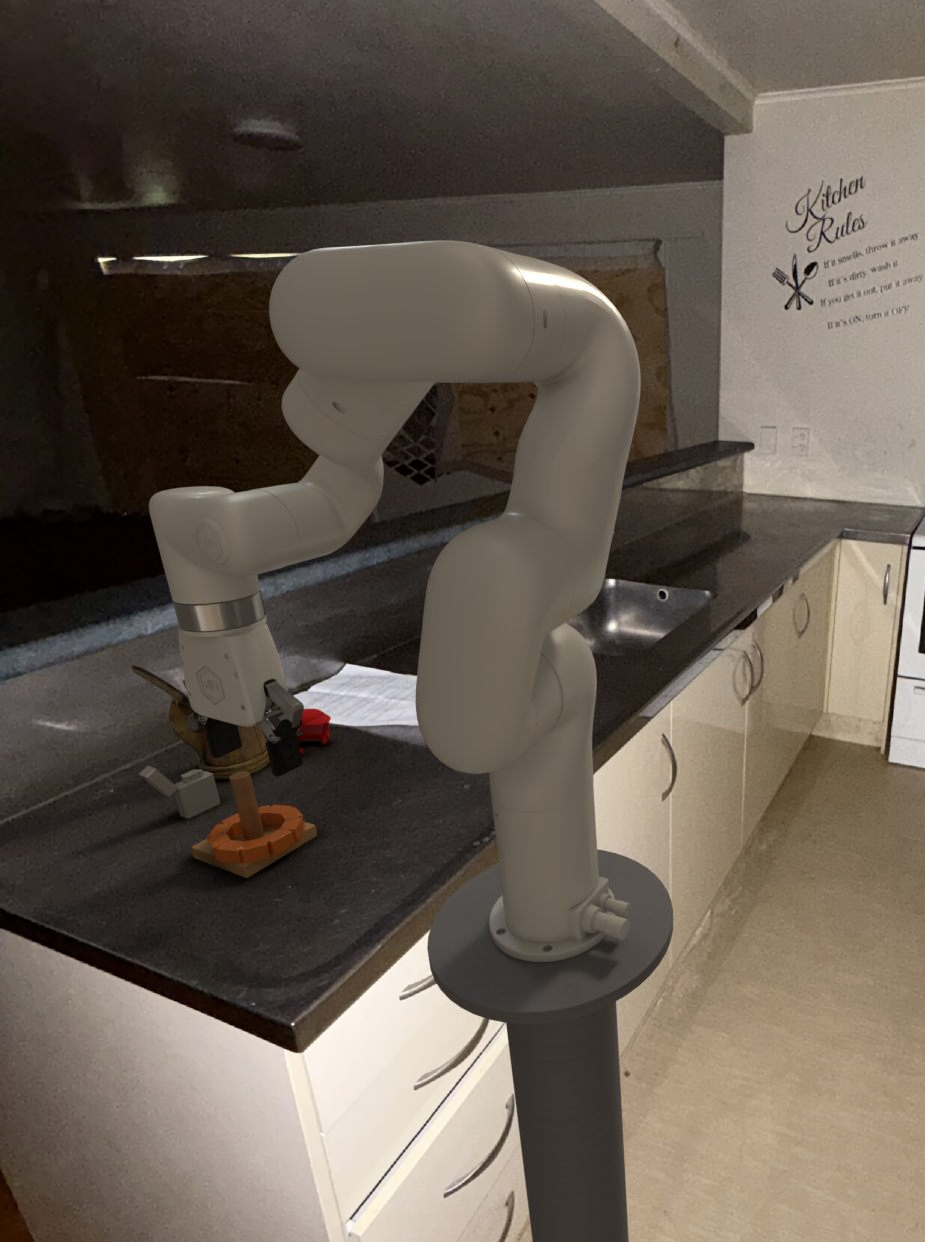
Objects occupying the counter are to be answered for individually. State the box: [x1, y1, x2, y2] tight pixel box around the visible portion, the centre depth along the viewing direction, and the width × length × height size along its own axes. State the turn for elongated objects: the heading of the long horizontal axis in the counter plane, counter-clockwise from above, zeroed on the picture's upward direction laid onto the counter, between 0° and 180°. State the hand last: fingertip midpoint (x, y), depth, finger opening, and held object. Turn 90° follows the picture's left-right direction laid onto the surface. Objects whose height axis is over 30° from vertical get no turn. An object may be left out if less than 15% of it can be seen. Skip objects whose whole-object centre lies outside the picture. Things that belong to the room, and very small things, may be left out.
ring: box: [206, 804, 305, 864], centre depth 86 cm, size 9×10×2 cm
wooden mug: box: [131, 664, 270, 781], centre depth 101 cm, size 9×14×18 cm, turn 148°
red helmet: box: [297, 708, 332, 755], centre depth 110 cm, size 8×6×6 cm
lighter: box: [138, 765, 221, 819], centre depth 92 cm, size 7×2×8 cm, turn 153°
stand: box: [190, 771, 318, 879], centre depth 86 cm, size 9×9×10 cm
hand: (257, 761), depth 82 cm, fingers open, 9 cm apart
